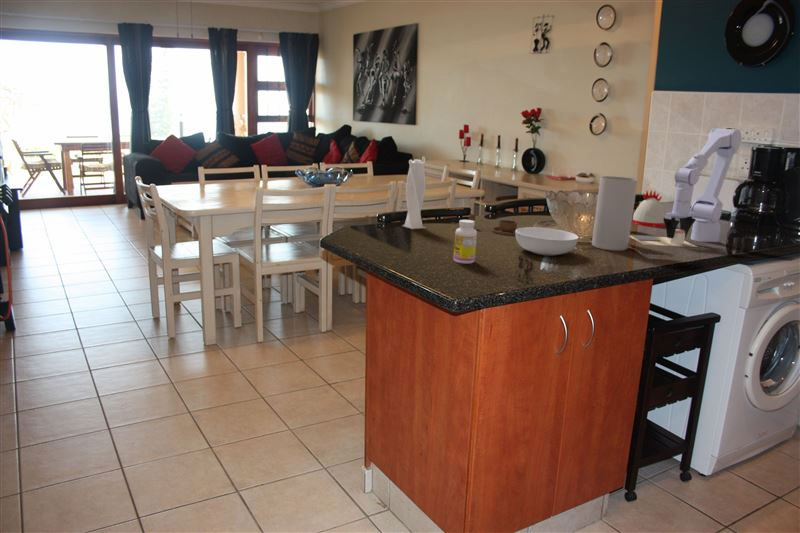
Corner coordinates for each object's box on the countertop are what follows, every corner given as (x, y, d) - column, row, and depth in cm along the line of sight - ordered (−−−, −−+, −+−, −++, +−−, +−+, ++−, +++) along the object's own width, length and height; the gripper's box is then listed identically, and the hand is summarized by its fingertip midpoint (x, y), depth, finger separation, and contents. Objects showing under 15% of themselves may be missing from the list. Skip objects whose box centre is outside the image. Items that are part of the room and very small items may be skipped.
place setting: (502, 239, 239) (504, 223, 238) (465, 229, 254) (466, 214, 252) (533, 235, 250) (534, 220, 248) (495, 225, 265) (496, 211, 263)
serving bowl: (564, 263, 204) (567, 242, 202) (504, 252, 214) (505, 232, 213) (583, 252, 221) (586, 233, 219) (526, 243, 232) (528, 224, 230)
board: (677, 241, 249) (678, 237, 249) (697, 250, 234) (697, 246, 233) (627, 239, 248) (627, 235, 248) (643, 248, 233) (644, 244, 232)
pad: (651, 237, 247) (651, 236, 247) (660, 241, 240) (660, 240, 240) (631, 236, 247) (631, 235, 247) (639, 240, 239) (639, 239, 239)
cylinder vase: (611, 252, 223) (621, 181, 217) (584, 245, 233) (593, 176, 227) (634, 249, 230) (645, 180, 223) (607, 242, 240) (616, 176, 233)
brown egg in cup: (679, 242, 240) (681, 229, 239) (685, 244, 236) (687, 231, 234) (666, 241, 240) (668, 228, 239) (672, 244, 235) (674, 231, 234)
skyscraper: (428, 229, 248) (433, 156, 241) (411, 230, 243) (416, 156, 236) (416, 225, 254) (420, 154, 247) (399, 226, 250) (403, 154, 243)
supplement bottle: (451, 258, 202) (454, 218, 199) (472, 259, 203) (475, 219, 199) (455, 263, 196) (458, 222, 192) (476, 264, 196) (479, 223, 193)
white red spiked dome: (629, 220, 294) (633, 187, 290) (660, 222, 292) (665, 189, 288) (635, 225, 280) (640, 191, 276) (668, 228, 279) (673, 193, 275)
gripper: (679, 203, 227) (673, 240, 230) (704, 202, 234) (698, 238, 238) (662, 200, 233) (657, 236, 236) (687, 199, 240) (681, 234, 244)
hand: (676, 237), depth 237 cm, fingers open, 7 cm apart
